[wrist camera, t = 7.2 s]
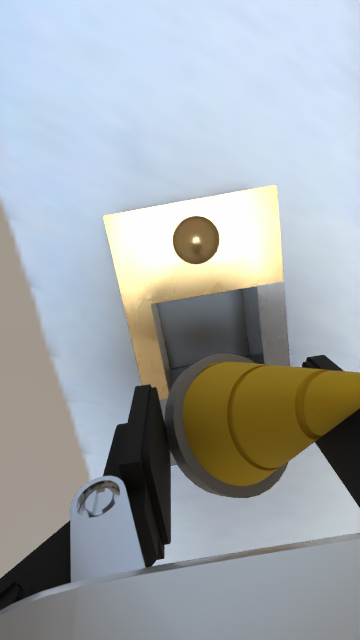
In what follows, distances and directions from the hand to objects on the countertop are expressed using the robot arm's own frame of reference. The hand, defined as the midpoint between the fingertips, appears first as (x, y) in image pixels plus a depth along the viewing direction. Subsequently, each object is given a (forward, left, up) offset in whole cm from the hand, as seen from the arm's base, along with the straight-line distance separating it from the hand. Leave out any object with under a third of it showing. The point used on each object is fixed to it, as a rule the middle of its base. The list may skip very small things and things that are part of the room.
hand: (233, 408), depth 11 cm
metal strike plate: (0, 0, -11) cm, 11 cm away
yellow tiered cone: (0, 0, -3) cm, 3 cm away
